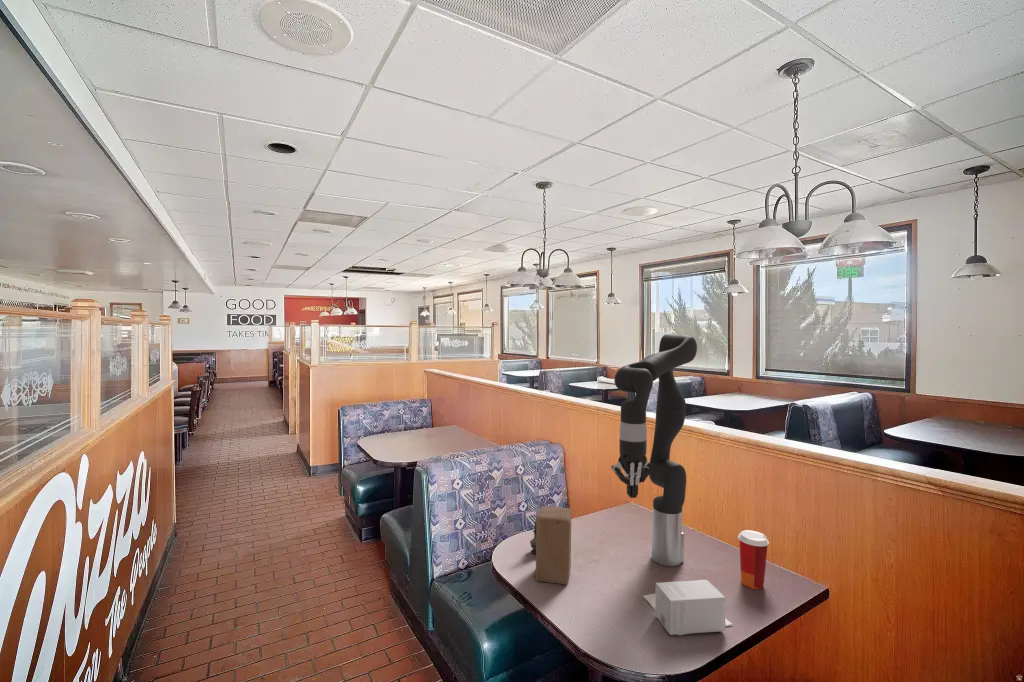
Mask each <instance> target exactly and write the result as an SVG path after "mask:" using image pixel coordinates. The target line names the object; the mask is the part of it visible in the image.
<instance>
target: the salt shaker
mask: <svg viewBox="0 0 1024 682" xmlns="http://www.w3.org/2000/svg"><path fill="white" fill-rule="evenodd" d="M536 524H537V520H535V521H534V529H533V535H534V536H533V538H532V539H530V540H529V543H530V546H531V548H532V549H531V550H530V554H531V555H533V556H534V557H536Z"/></svg>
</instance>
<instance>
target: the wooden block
mask: <svg viewBox="0 0 1024 682" xmlns="http://www.w3.org/2000/svg"><path fill="white" fill-rule="evenodd" d="M572 512H573V511H572V510H571V508H569V507H559V506H558V507H557V506H548V505H547V506H546V505H542V506H540V508H539V511H538V514H537V516H536V521H537V524H536V556H535V578H536V579H535V580H536V581H537V582H541V583H542V582H544V583H552V584H559V585H568V584H569V581H570V574H571V567H572V519H573V518H572V516H573V515H572Z"/></svg>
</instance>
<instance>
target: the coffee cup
mask: <svg viewBox="0 0 1024 682" xmlns="http://www.w3.org/2000/svg"><path fill="white" fill-rule="evenodd" d="M737 539H738V540H739V560H740V561H739V563H740V581H741V584H742V585H743V586H745V587H746V588H749V589H752V590H762V589H763V588H764V585H765V575H766V567H767V553H768V546H769V544H770V542H769V540H768V538H767V536H766V535H765V534H764V533H762V532H759V531H756V530H751V529H749V530H748V529H745V530H741V531H740V532H739V534H738V536H737Z"/></svg>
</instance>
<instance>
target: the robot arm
mask: <svg viewBox="0 0 1024 682" xmlns="http://www.w3.org/2000/svg"><path fill="white" fill-rule="evenodd" d="M658 345H659V347H658V352H655V353H652V354H650V355H648V356H645V357H644V358H643V359H640V361H637V362H632V363H629V364H627V365H624V366H621V367H620V368H619V369H618V370H617V372H616V373H615V374H614V385H615V387H616V388H617V389H618V390H619V391H621V392H626V393H634V394H635V397H634V398H633V399H628V400H624V401H622V402H621V404H620V424H619V441H618V442H619V445H618V446H619V449H618V450H619V451H618V452H619V457H618V462H617V463H616V464H614V465H613V464H612V465H611V470H612V471H613V473H614V474H615V475H616V476H617V478H618V479H619V480H620V481H621V482H622V483H624V485H626V494H627V496H628V497H629V498H630V499H635V498H636V499H637V497H638V495H639V484H641V483H645V481H646V479H647V478H648V477H649V480H650V482H651V483H653V484H654V485H655V486H658V487H660V488H662V489H663V493H662V494H663V495H658V496H655V497H654V498H653V500H652V536H651V539H652V540H651V541H652V542H651V558H652V560H653V562H655V563H657V564H659V565H661V566H665V567H677V566H679V565H681V563H684V561H685V560H684V559H685V557H684V556H685V554H684V553H685V533H684V532H683V529H682V527H683V525H682V524H683V507H684V503H685V499H686V491H687V490H686V488H687V473H686V469H685V468H684V466H683V465H682V464H680V463H678V462H675V461H672V460H670V457H671V456H670V455H671V447H672V443H673V442H674V440H675V438H676V437H677V436H678V434H679V433H680V432H681V430H682V428H683V426H684V424H685V419H686V410H687V409H686V407H687V406H686V405H687V404H686V399H685V396H684V395H683V392H682V391H681V389H680V387H679V385H678V383H677V381H676V378H675V374H674V371H673V370H674V369H675V368H678V367H680V366H683V365H685V364H689V363H691V362H692V361H694V359H695V357H696V356H697V352H698V343H697V341H696V339H695V337H693V336H691V335H687V334H670V333H666V334H664V335H662V337H661V339H660V342H659V344H658ZM657 379H658V387H657V399H656V408H655V423H654V433H653V443H652V448H651V453H650V454H651V455H650V458H649V461H648V458H647V456H646V455H647V445H648V444H647V441H648V439H647V438H648V437H647V436H648V433H647V432H648V430H647V429H648V428H647V406H648V402H649V399H650V394H651V392H652V388H653V385H654V381H656V380H657ZM623 470H624V473H623V472H622V471H623Z"/></svg>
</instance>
